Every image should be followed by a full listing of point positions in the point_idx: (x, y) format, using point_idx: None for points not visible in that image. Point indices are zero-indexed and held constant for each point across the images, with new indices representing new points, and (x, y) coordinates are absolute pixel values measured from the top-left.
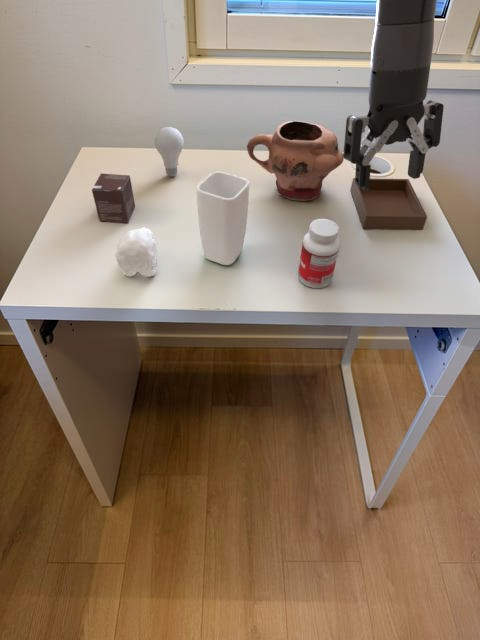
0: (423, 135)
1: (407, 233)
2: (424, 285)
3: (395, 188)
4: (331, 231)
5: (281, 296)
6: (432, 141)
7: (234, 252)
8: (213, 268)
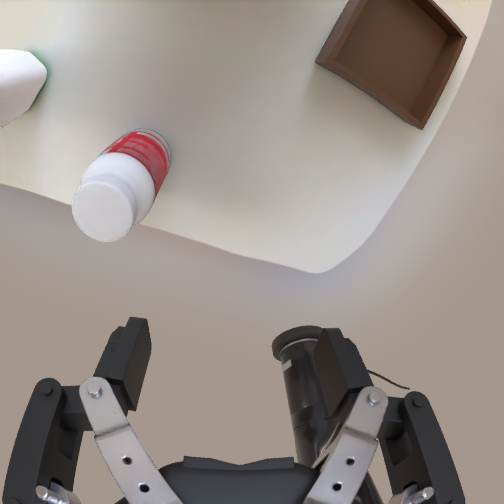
0: (409, 419)
1: (379, 115)
2: (306, 224)
3: (440, 24)
4: (111, 232)
5: None
6: (379, 440)
7: (17, 114)
8: None
